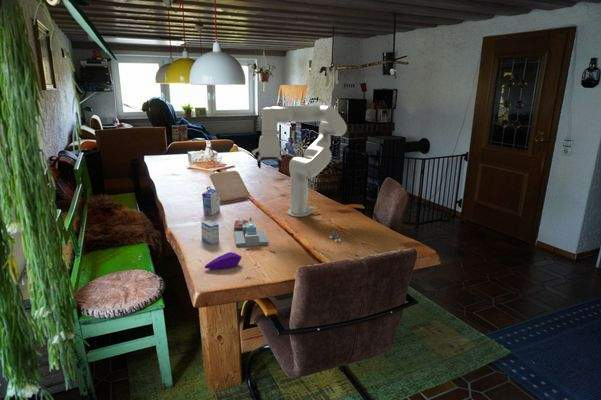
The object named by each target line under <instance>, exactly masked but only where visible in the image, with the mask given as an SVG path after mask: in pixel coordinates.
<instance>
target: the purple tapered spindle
mask: <svg viewBox="0 0 601 400" xmlns="http://www.w3.org/2000/svg"><path fill="white" fill-rule="evenodd" d="M242 258H243V257H242V256H241V254H240V255H239V254H237V253H235V252H232V251H231V252H227V253H224V254H222V255H219V256H218V257H216V258H214V259H212V260H211V261H210V262H207V264H205V266H204V269H209V270H226V269H232V268H235V267H237V266H238V265H239V263H240V262H241V259H242Z"/></svg>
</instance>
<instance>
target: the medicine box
mask: <svg viewBox="0 0 601 400" xmlns="http://www.w3.org/2000/svg"><path fill="white" fill-rule="evenodd" d="M200 224H201V226H200V228H201V230H200V231H201V240H202V241H204V242H205V243H207V244H209V245H215V244H218V243H220V225H219V224H218V223H216V222H213V221H212V220H205V221H201V222H200Z"/></svg>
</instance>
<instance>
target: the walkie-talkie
mask: <svg viewBox="0 0 601 400" xmlns="http://www.w3.org/2000/svg"><path fill="white" fill-rule="evenodd" d="M246 223H253V221H252V217H250V218H249V219H248V220H247V219H244V218H239V219H238V220H237V219H236V220H235V221H234V225H233V232H234V231H243V225H246Z"/></svg>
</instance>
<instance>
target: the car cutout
mask: <svg viewBox="0 0 601 400" xmlns="http://www.w3.org/2000/svg"><path fill="white" fill-rule="evenodd" d="M329 239H333V240H334V243H337V242H341V238H339V235H338V233H337V232H336V231H333V232H331V235H330V236H329Z"/></svg>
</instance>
